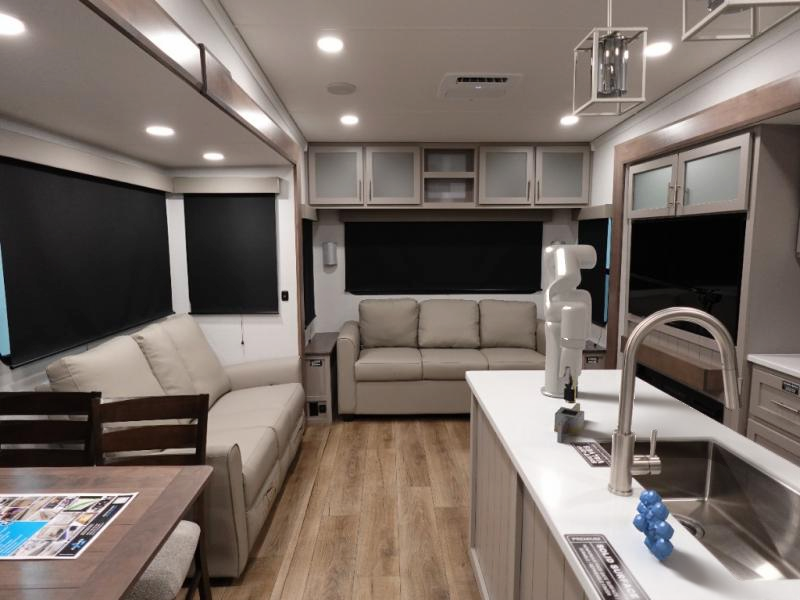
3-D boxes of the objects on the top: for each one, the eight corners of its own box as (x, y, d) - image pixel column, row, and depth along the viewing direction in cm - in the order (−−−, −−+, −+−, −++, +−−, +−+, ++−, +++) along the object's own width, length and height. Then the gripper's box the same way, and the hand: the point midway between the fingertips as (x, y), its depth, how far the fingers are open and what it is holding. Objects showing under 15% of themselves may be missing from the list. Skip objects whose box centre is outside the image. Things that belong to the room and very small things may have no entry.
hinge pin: (566, 399, 156) (567, 373, 155) (576, 401, 154) (577, 374, 153) (564, 402, 153) (565, 375, 152) (574, 404, 152) (575, 376, 151)
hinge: (566, 416, 167) (567, 400, 166) (589, 421, 163) (589, 404, 162) (546, 439, 148) (547, 421, 147) (571, 445, 144) (572, 426, 143)
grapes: (618, 532, 101) (622, 479, 99) (651, 533, 100) (655, 480, 99) (643, 570, 89) (647, 510, 88) (680, 571, 89) (685, 511, 87)
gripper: (567, 337, 161) (565, 390, 163) (553, 346, 147) (551, 403, 149) (590, 340, 156) (588, 394, 158) (578, 349, 143) (576, 408, 145)
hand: (570, 398), depth 154 cm, fingers closed on hinge pin, 3 cm apart
